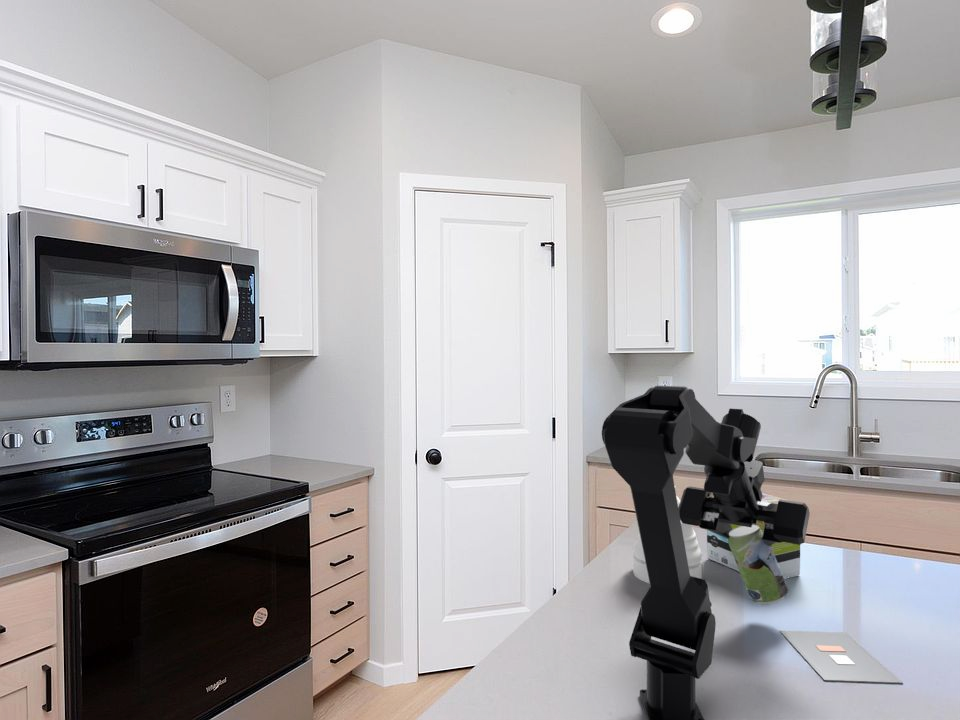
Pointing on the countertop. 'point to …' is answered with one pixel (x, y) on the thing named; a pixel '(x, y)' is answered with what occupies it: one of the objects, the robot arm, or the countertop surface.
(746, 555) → the beverage can
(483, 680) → the countertop surface
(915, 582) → the countertop surface
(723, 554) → the tea box
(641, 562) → the honey pot
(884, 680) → the tile
